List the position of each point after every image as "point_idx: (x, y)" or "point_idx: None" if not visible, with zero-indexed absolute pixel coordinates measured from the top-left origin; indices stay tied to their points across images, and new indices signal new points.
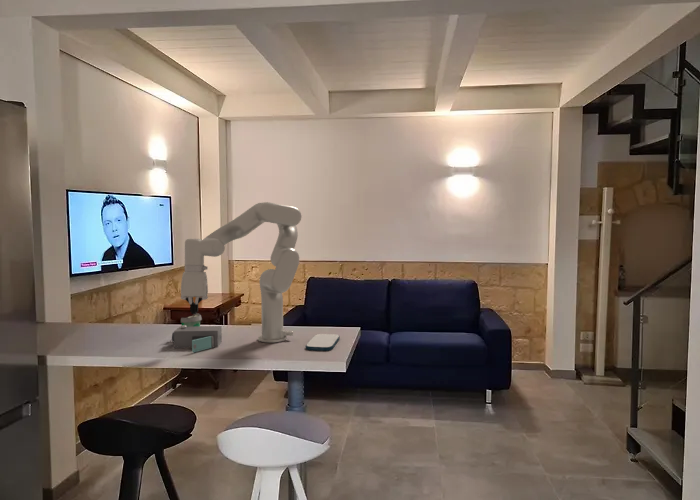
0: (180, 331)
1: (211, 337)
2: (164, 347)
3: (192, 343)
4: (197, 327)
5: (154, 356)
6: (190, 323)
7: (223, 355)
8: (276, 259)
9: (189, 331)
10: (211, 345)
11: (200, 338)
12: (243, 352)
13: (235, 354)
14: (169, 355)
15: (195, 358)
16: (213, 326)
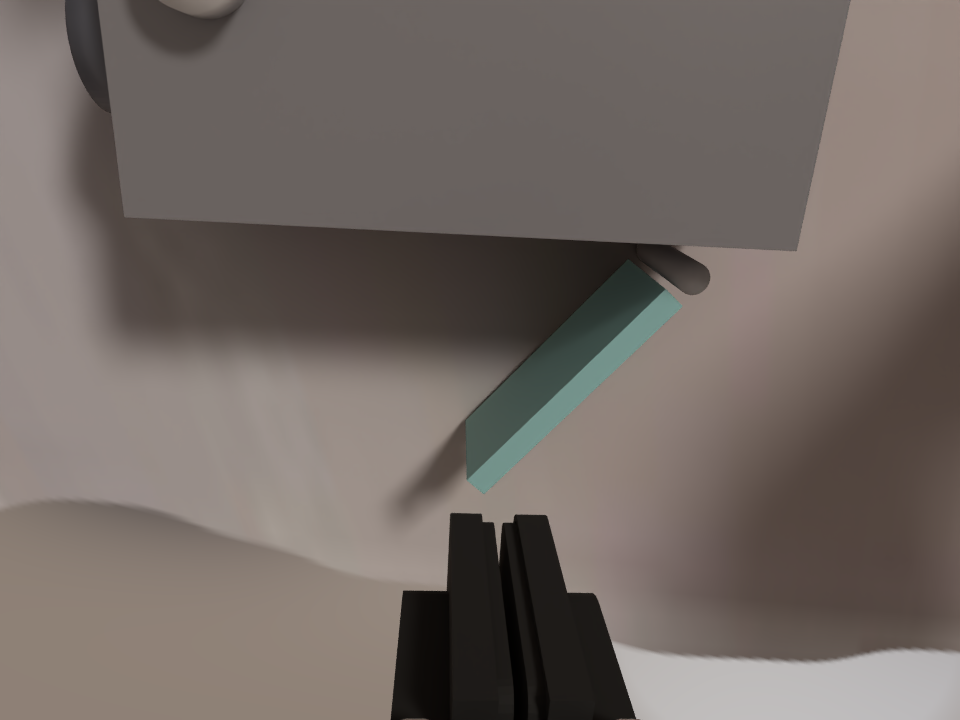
0: (229, 222)
1: (678, 288)
2: (91, 155)
3: (471, 465)
4: None
5: (140, 496)
6: None
7: (757, 525)
8: None
9: (370, 228)
10: (647, 264)
11: (553, 402)
12: (942, 451)
13: (863, 505)
14: (269, 479)
15: None
16: None
